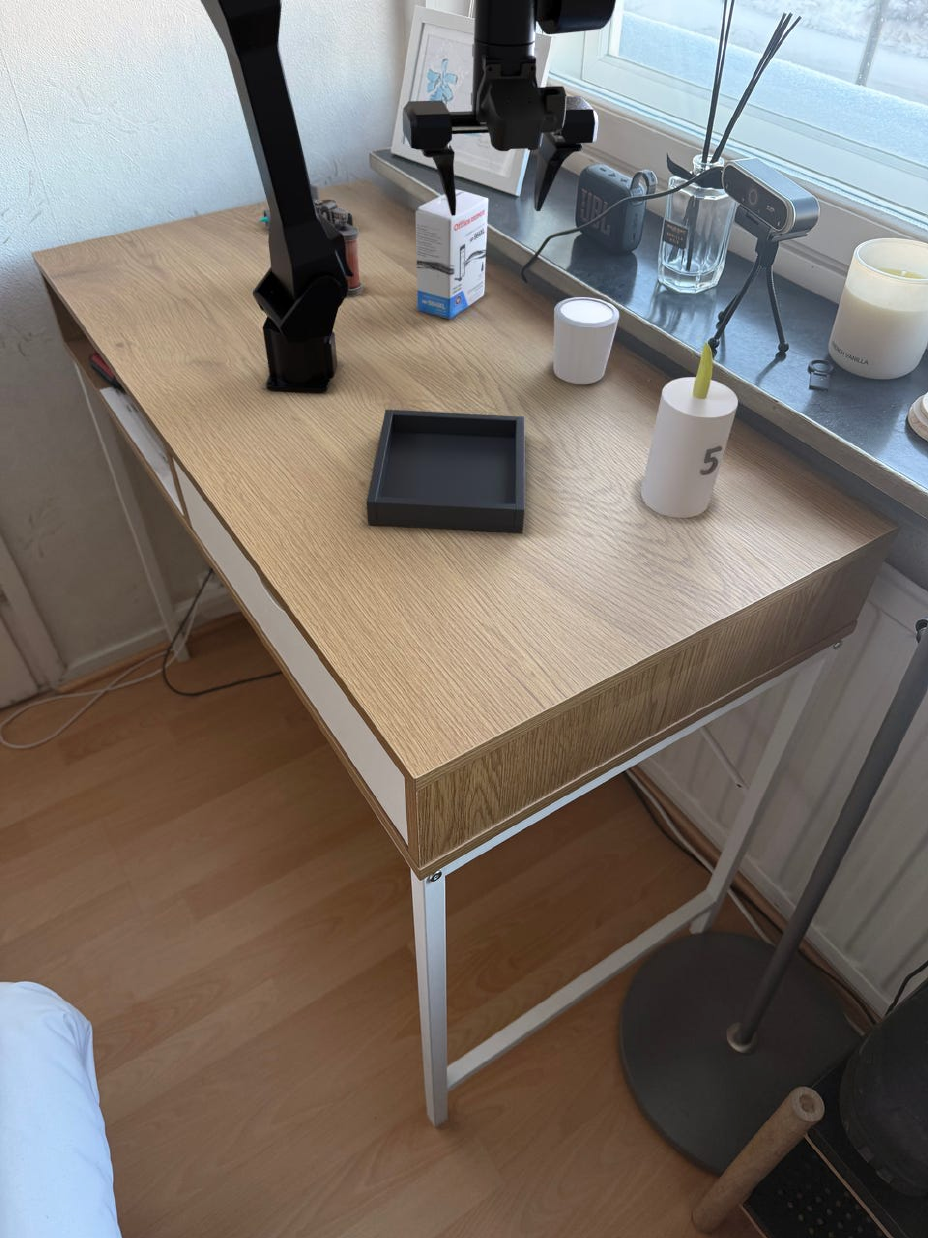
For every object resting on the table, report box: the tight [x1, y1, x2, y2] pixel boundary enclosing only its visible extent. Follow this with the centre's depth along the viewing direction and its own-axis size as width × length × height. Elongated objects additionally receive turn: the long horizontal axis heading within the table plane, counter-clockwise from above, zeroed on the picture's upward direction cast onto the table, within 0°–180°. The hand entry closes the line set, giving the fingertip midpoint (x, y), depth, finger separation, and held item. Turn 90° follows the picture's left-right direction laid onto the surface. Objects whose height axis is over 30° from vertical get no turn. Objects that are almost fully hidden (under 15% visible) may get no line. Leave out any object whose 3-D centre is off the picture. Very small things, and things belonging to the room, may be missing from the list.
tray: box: [366, 409, 525, 534], centre depth 80 cm, size 14×15×3 cm
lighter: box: [314, 199, 362, 297], centre depth 105 cm, size 8×3×10 cm, turn 58°
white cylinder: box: [552, 296, 620, 385], centre depth 93 cm, size 7×7×7 cm
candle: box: [640, 342, 739, 519], centre depth 75 cm, size 6×6×15 cm
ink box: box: [414, 188, 489, 320], centre depth 102 cm, size 9×5×12 cm, turn 148°
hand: (495, 211), depth 92 cm, fingers open, 9 cm apart
